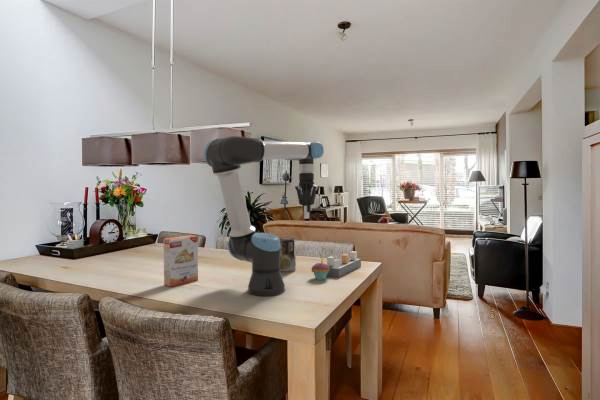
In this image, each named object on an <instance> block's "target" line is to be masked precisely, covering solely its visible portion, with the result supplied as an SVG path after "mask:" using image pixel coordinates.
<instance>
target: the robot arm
mask: <svg viewBox="0 0 600 400" xmlns="http://www.w3.org/2000/svg"><path fill="white" fill-rule="evenodd" d="M324 153H325V152H324V146H323V144H322V143H321V142H320V141H312V142H311V141H301V142H300V141H276V140H275V141H274V140H273V141H272V140H262V139H261V138H259V137H249V136H248V137H247V136H238V135H237V136H236V135H234V136H233V135H232V136H227V137H221V138H220V137H219V138H215V139H212V140H210V141H209V142H208V143H207V144H206V146H204V149H203V159H204V161H205V163H206V164H207V165H208V166H210V167H211V169H212V172H213V174H214V175H215V176H216V177H217V178H218V181H219V187H220V189H221V194H222V197H223V202H224V205H225V206H224V207H225V210H226V213H227V218H228V222H229V225H230V232H229V238H228V241H227V250H228V252H229V255H230V256H231V257H233V258H234V259H236V260H239V261H243V262H248V263H251V269H252V270H251V276H250V279H249V283H248V285H247V292H248V293H249V294H250V295H253V296H259V297H270V296H271V297H272V296H277V295H281V294H282V293H284V292H285V289H286V288H285V287H286V286H285V283H284V280H283V276H282V273H281V271H280V239H279V238H280V237H279V236H278V235H276V234H273V233H270V232H257V230H256V227H255V226H253V225H252V223H251V220H250V215H249V211H248V208H247V203H246V199H245V195H244V191H243V186H242V182H241V179H240V173H239V172H240V170H241V168H242V165H246V164H252V163H260V162H261V161H263V160H264V161H265V160H268V161H269V160H285V161H298V171H299V174H298V180H299V182H298V184H297V185H296V186H295V187H294V188H295V191H296V193H297V198H298V203H299V205H301V206H302V212H303V219H306V220H307V219H310V212H311V211H312V210H311V206H312V205H314V204H315V200H316V195H317V191H318V188H319V186H318V185H316V184H315V183H314V180H315V179H314V178H315V176H314V175H315V174H314V171H315V170H314V167H315V166H314V161H315V160H316V159H320V158H322V157H323V155H324Z"/></svg>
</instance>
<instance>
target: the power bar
mask: <svg viewBox="0 0 600 400" xmlns="http://www.w3.org/2000/svg"><path fill="white" fill-rule="evenodd" d="M329 267H330V268H329V269H330V270H329V272H328V273H327V275H326V277H327V276H328V277H334V278H341V277H343V276H345V275H347V274H349V273H351V272H352V271H354V270H356V269H358V268H360V267H362V259H361V258H358V257H357V259H356V260H350V257H349V262H348V263H342V258H340V259H337V260H334V265H333V266H329Z"/></svg>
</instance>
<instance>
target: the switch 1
mask: <svg viewBox="0 0 600 400" xmlns="http://www.w3.org/2000/svg"><path fill="white" fill-rule="evenodd" d="M334 262H335V256H328V257H326V265H328V266H333V265H334Z"/></svg>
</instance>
